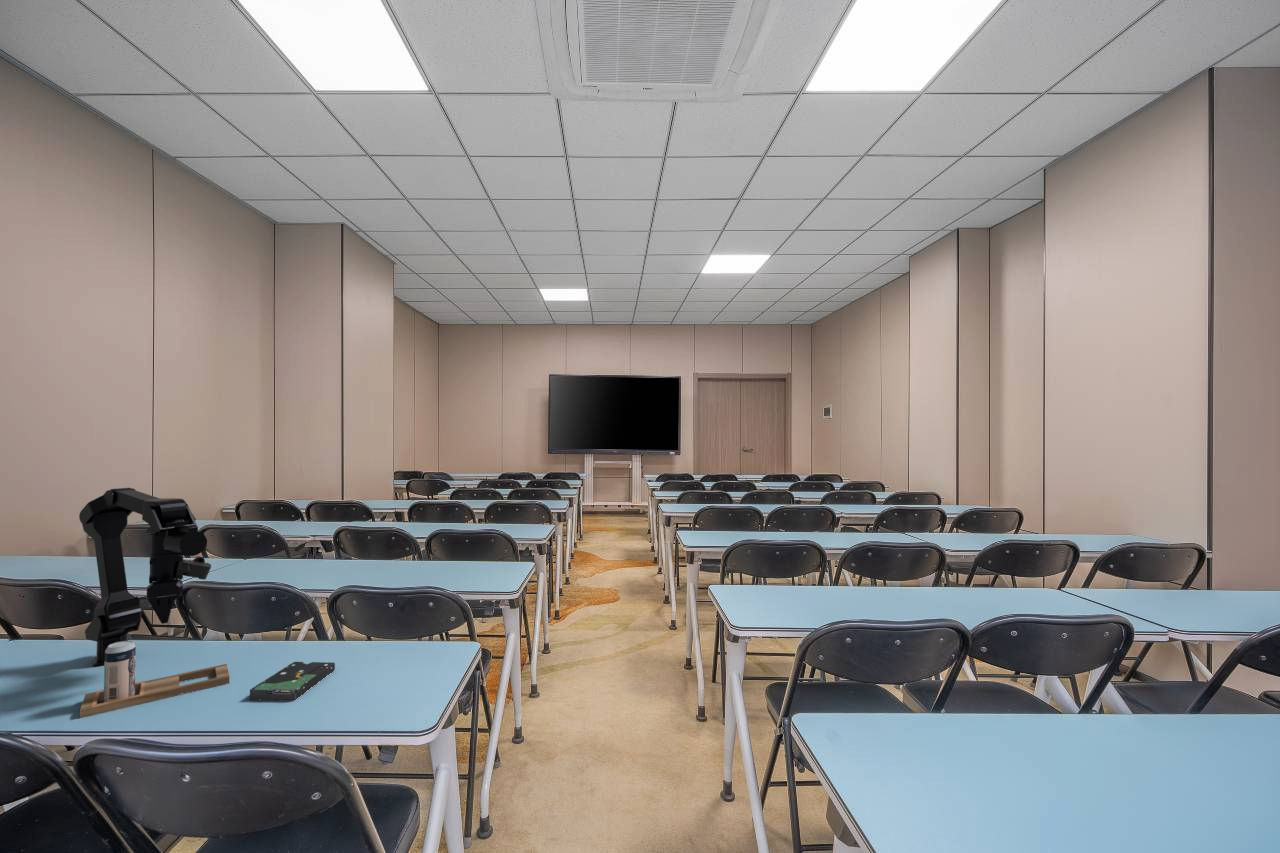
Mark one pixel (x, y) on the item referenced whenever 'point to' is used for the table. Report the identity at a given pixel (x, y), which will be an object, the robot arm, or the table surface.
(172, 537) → the robot arm
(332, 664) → the disk drive
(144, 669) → the table surface
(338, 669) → the table surface
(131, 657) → the white cylinder
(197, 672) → the wooden tray
